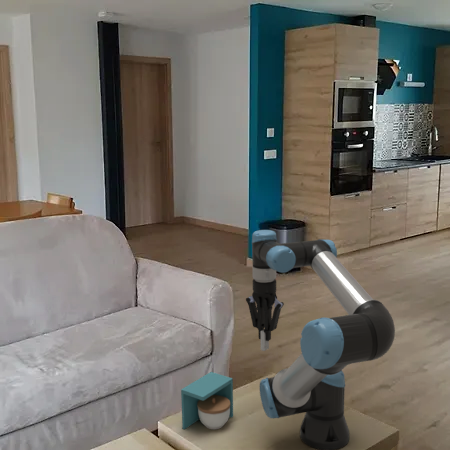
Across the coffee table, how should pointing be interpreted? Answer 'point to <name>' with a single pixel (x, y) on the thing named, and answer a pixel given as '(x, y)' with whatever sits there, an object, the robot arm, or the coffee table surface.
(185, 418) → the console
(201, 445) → the coffee table surface
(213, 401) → the lidded jar
